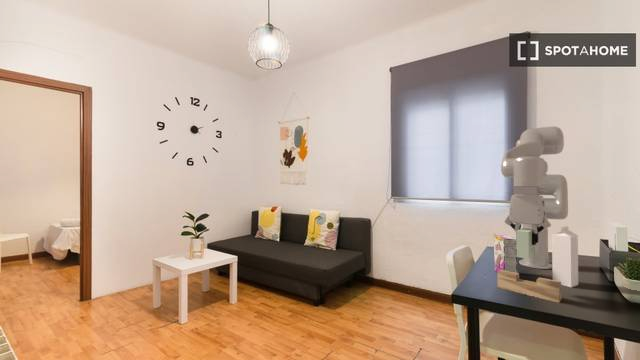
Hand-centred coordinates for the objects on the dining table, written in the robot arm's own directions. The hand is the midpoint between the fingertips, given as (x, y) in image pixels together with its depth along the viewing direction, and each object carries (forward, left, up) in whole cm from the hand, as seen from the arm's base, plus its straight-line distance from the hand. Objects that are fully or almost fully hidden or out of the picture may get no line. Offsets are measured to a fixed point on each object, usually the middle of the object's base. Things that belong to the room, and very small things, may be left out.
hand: (527, 243), depth 103 cm
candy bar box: (-17, -12, -18) cm, 28 cm away
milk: (-22, +7, -18) cm, 29 cm away
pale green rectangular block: (0, 0, -4) cm, 4 cm away
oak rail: (0, 0, -18) cm, 18 cm away
